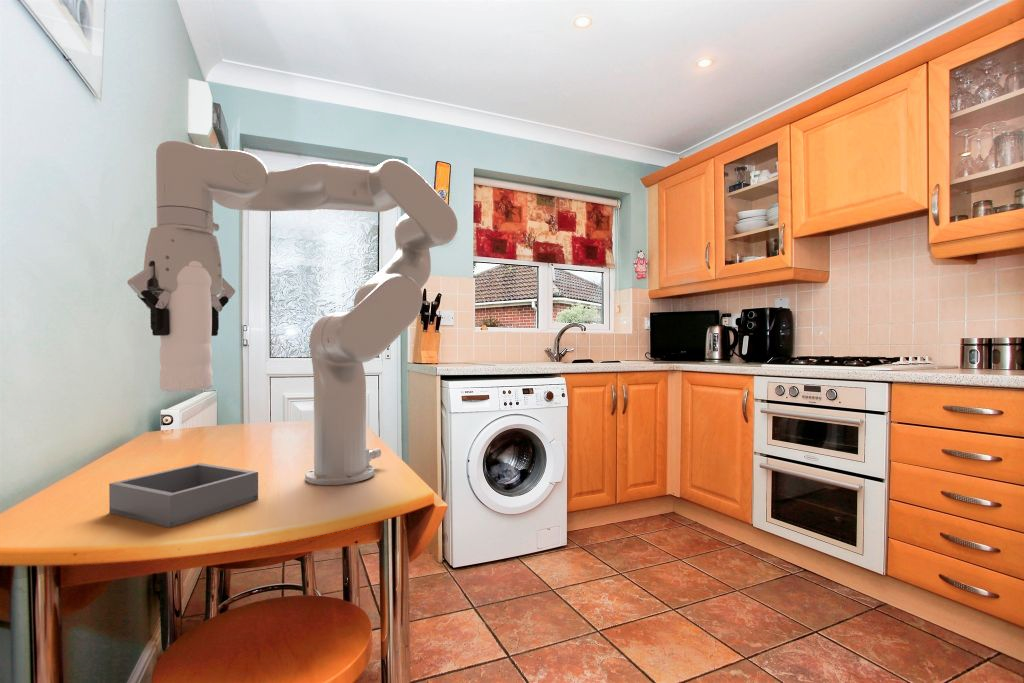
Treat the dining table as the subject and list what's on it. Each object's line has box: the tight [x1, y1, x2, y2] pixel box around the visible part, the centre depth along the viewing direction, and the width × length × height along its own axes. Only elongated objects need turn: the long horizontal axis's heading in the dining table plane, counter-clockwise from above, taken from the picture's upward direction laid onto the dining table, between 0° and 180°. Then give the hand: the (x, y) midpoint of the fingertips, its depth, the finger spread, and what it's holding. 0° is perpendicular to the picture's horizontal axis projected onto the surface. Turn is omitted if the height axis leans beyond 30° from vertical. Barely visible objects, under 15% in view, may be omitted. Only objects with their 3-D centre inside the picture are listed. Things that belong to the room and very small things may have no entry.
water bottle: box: [159, 240, 214, 393], centre depth 79 cm, size 7×7×25 cm
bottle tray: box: [108, 462, 259, 529], centre depth 79 cm, size 14×15×4 cm
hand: (186, 334), depth 79 cm, fingers closed on water bottle, 7 cm apart
